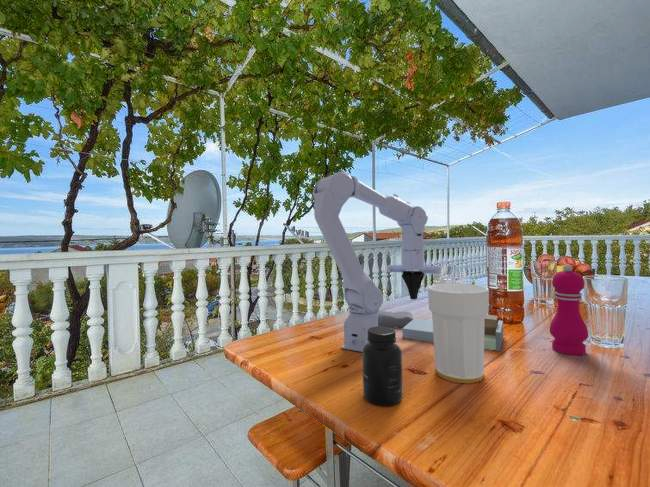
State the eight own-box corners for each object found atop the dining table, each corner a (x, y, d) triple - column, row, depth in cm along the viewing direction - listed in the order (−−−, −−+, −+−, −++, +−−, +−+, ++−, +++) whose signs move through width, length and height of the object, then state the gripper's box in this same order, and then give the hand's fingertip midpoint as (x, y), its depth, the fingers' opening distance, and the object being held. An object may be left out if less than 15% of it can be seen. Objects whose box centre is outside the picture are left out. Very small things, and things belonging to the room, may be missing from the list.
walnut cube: (496, 335, 80) (496, 319, 80) (478, 333, 82) (478, 318, 82) (497, 331, 83) (497, 315, 83) (480, 329, 85) (480, 314, 85)
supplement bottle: (355, 398, 57) (353, 330, 57) (378, 384, 62) (376, 322, 62) (388, 412, 53) (386, 338, 52) (410, 396, 57) (408, 328, 57)
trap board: (402, 337, 89) (402, 321, 89) (414, 326, 98) (413, 311, 98) (500, 351, 76) (500, 332, 76) (503, 337, 86) (503, 320, 86)
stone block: (375, 324, 109) (374, 327, 99) (375, 309, 110) (374, 311, 100) (412, 326, 106) (414, 329, 97) (412, 311, 107) (414, 313, 97)
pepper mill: (548, 343, 81) (547, 262, 80) (585, 347, 77) (585, 263, 76) (550, 353, 75) (550, 265, 74) (591, 358, 71) (590, 266, 70)
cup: (494, 369, 67) (493, 285, 67) (485, 392, 58) (484, 294, 57) (438, 358, 74) (436, 281, 73) (422, 377, 64) (420, 290, 64)
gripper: (442, 249, 90) (443, 297, 91) (392, 249, 98) (393, 294, 98) (437, 250, 84) (438, 303, 85) (383, 250, 92) (385, 298, 92)
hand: (413, 298), depth 91 cm, fingers closed
